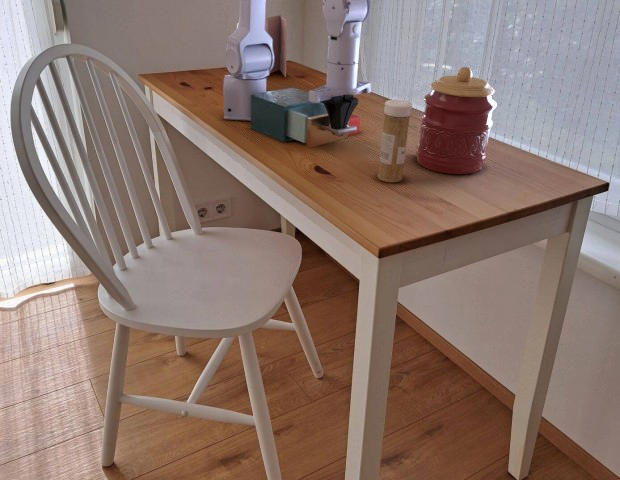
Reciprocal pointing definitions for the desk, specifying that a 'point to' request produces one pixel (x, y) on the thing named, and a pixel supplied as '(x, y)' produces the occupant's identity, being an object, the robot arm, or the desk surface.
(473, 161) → the kitchen canister
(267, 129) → the teal box
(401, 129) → the sprinkles bottle
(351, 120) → the small red toy cube
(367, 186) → the desk surface
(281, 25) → the greeting card
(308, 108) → the drawer
